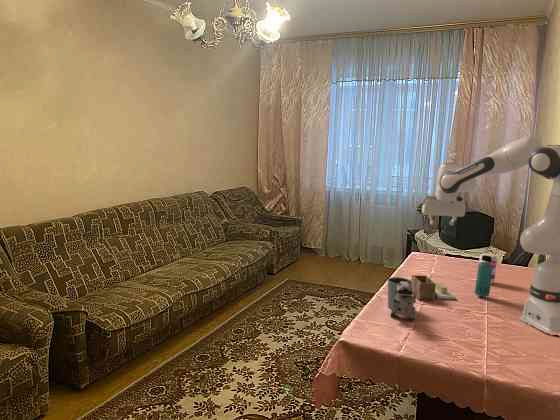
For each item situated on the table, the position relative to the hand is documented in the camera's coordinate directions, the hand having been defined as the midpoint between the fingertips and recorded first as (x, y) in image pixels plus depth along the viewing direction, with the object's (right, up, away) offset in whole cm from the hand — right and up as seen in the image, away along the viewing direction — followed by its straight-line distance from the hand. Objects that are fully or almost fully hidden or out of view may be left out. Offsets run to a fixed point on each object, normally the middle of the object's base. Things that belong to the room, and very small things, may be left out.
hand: (441, 224), depth 216 cm
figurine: (-31, -37, -40) cm, 63 cm away
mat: (-3, -33, -8) cm, 34 cm away
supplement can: (+28, -31, +15) cm, 44 cm away
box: (-13, -33, -11) cm, 37 cm away
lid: (-3, -32, -8) cm, 33 cm away
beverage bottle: (+16, -34, -8) cm, 38 cm away
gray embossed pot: (-29, -35, -27) cm, 53 cm away
